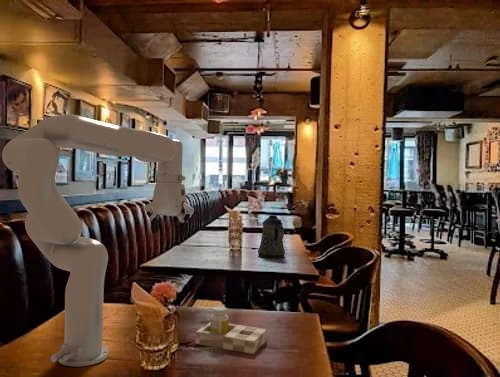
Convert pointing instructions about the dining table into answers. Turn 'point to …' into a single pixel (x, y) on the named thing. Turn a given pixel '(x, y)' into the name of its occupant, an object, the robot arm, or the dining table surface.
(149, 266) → the dining table surface
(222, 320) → the supplement bottle
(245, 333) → the socket block
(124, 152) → the robot arm
